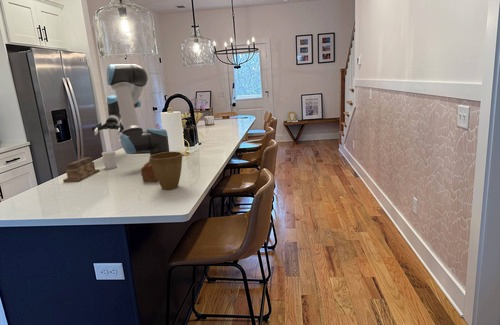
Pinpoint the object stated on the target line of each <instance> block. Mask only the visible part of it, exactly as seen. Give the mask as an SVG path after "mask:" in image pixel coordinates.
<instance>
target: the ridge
mask: <svg viewBox="0 0 500 325" xmlns="http://www.w3.org/2000/svg"><path fill="white" fill-rule="evenodd" d="M66 168H67V169H66V170H65V171H66V172H65V173H66V176H67V177H66V178H64V179H62V182H63V183H79V182H80V183H81V182H82V181H84V180H85V179H88V178H90V177H92V176H94V175H95V174H98V173H100V168H96V166H95V162H94V161H93V158H92V156H91V157H89V156H88V157H86V156H85V157H82V158H80V159H77V160H76V161H72V162H69V163H67V164H66Z"/></svg>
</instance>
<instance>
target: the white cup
mask: <svg viewBox="0 0 500 325" xmlns="http://www.w3.org/2000/svg"><path fill="white" fill-rule="evenodd" d="M101 155H102V161H103V165H104V168H105V170H106V169H107V170H110V169H115V168H117V166H118V165H117V156H116V151H115V150H108V151H103V152H101Z"/></svg>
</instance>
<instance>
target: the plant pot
mask: <svg viewBox="0 0 500 325" xmlns="http://www.w3.org/2000/svg"><path fill="white" fill-rule="evenodd" d="M148 158H149V159H150V162H151V165H152V168H153V171H154V173H155V176H156V178H157V180H158V182H157V183H158V184H159V186H160V187H161V189H162V190H165V191H170V190H175V189H178V187H179V183H180V179H181V173H182V165H183V153H182V152H180V151H169V152H163V153H158V154H154V155H151V156H150V155H149V157H148Z"/></svg>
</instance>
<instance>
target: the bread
mask: <svg viewBox="0 0 500 325" xmlns="http://www.w3.org/2000/svg"><path fill="white" fill-rule="evenodd" d="M140 170H141V171H140V172H141V177H142V181H143V182H144V183H159V182H158V180H157V178H156V176H155V173H154V171H153V168H152V165H151V162H149V161H148V162H146V163H145V164H144V165H142V167H141V169H140Z"/></svg>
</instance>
